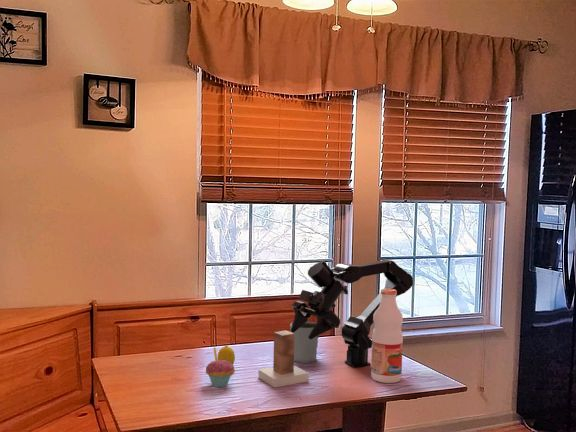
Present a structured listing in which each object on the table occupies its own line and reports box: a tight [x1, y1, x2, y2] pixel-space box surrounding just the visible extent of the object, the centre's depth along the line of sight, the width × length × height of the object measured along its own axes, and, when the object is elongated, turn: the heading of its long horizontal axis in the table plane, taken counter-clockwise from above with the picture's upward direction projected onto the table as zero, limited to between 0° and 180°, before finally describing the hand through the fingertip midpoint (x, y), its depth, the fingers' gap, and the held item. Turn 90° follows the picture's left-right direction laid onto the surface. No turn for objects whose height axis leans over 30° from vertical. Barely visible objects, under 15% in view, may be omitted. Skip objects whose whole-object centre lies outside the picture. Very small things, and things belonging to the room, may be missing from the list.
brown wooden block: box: [272, 329, 295, 375], centre depth 179 cm, size 4×4×12 cm
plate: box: [258, 365, 310, 388], centre depth 180 cm, size 12×10×2 cm
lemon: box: [217, 345, 236, 365], centre depth 187 cm, size 6×6×8 cm
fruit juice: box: [370, 288, 404, 384], centre depth 182 cm, size 9×9×28 cm
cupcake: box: [205, 345, 236, 388], centre depth 174 cm, size 9×8×12 cm
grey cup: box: [289, 321, 320, 364], centre depth 201 cm, size 10×10×12 cm
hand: (300, 335), depth 183 cm, fingers open, 9 cm apart
